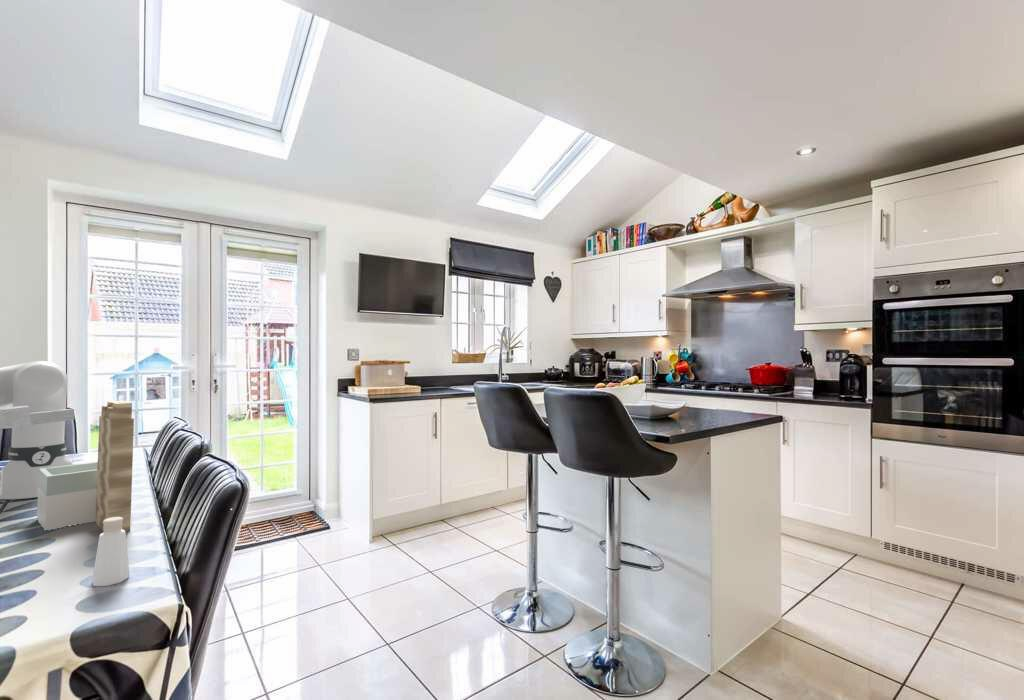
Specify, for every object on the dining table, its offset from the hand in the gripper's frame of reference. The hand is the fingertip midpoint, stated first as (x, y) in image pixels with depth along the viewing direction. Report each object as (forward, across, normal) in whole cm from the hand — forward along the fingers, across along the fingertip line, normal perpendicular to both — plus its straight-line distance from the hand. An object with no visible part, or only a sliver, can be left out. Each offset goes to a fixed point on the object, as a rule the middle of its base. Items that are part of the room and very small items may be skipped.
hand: (15, 413), depth 99 cm
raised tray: (-2, -14, -31) cm, 35 cm away
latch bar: (+2, 0, -4) cm, 4 cm away
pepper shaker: (-6, +34, -30) cm, 45 cm away
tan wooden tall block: (0, 0, -33) cm, 33 cm away
